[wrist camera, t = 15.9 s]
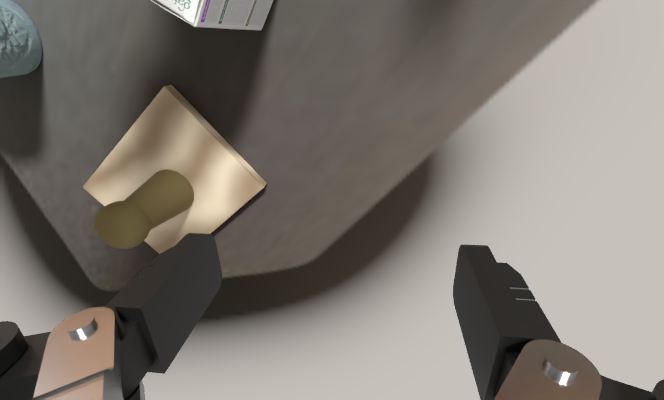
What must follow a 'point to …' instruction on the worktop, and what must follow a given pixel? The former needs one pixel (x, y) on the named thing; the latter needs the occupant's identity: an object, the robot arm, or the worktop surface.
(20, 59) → the blue-grey cup
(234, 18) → the syrup box
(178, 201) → the cork
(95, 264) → the worktop surface
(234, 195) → the birch board
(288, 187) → the worktop surface
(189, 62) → the worktop surface
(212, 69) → the worktop surface
